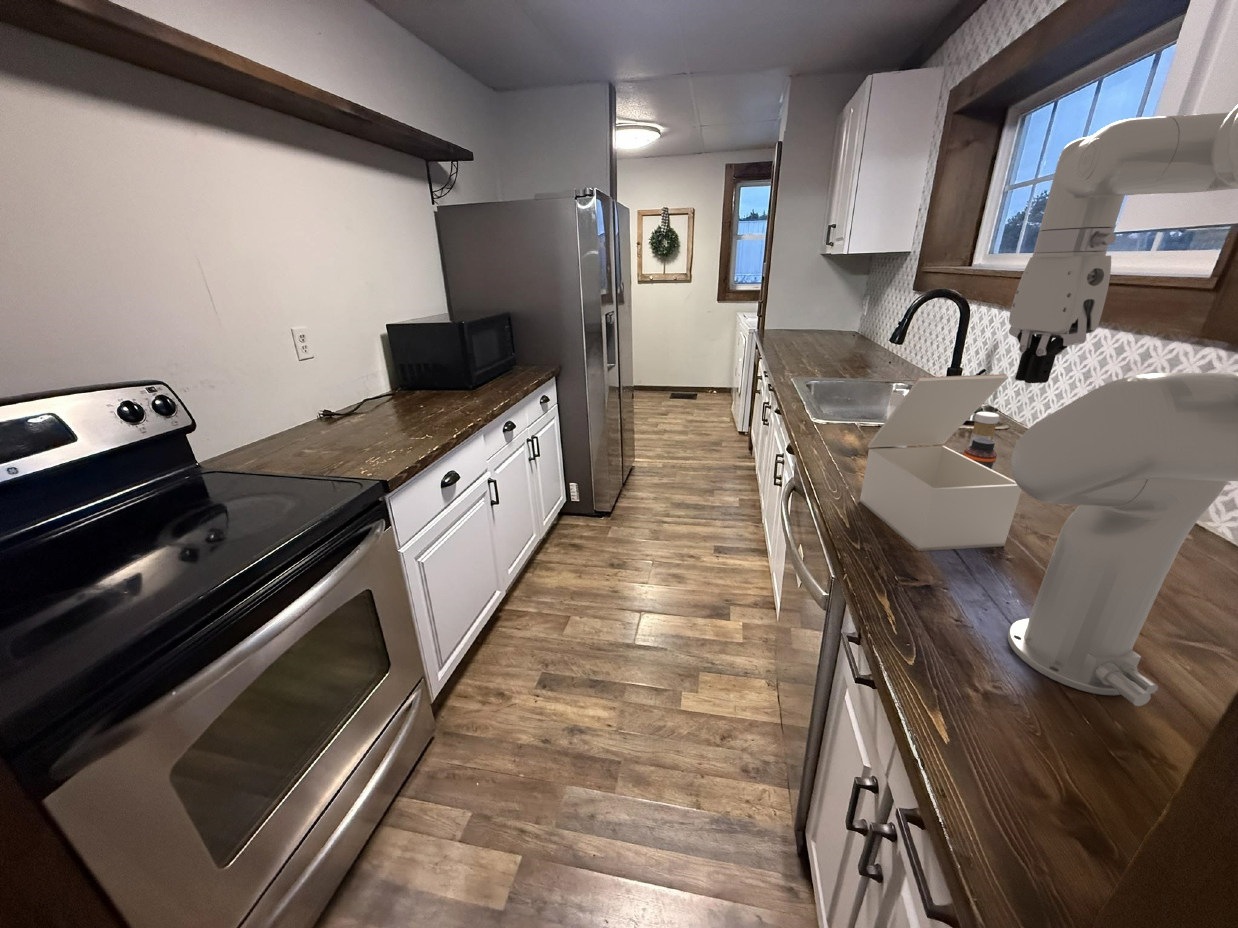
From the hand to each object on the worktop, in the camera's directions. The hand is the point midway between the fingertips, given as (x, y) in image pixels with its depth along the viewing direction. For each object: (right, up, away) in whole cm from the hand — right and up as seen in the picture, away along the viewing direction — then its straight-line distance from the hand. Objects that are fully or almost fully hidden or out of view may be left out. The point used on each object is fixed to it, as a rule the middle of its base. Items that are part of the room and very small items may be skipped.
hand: (1031, 380), depth 73 cm
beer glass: (+17, -7, +66) cm, 68 cm away
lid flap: (-1, -3, +21) cm, 21 cm away
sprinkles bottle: (+28, -13, +50) cm, 59 cm away
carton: (0, -24, +25) cm, 34 cm away
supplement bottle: (+19, -18, +39) cm, 47 cm away
